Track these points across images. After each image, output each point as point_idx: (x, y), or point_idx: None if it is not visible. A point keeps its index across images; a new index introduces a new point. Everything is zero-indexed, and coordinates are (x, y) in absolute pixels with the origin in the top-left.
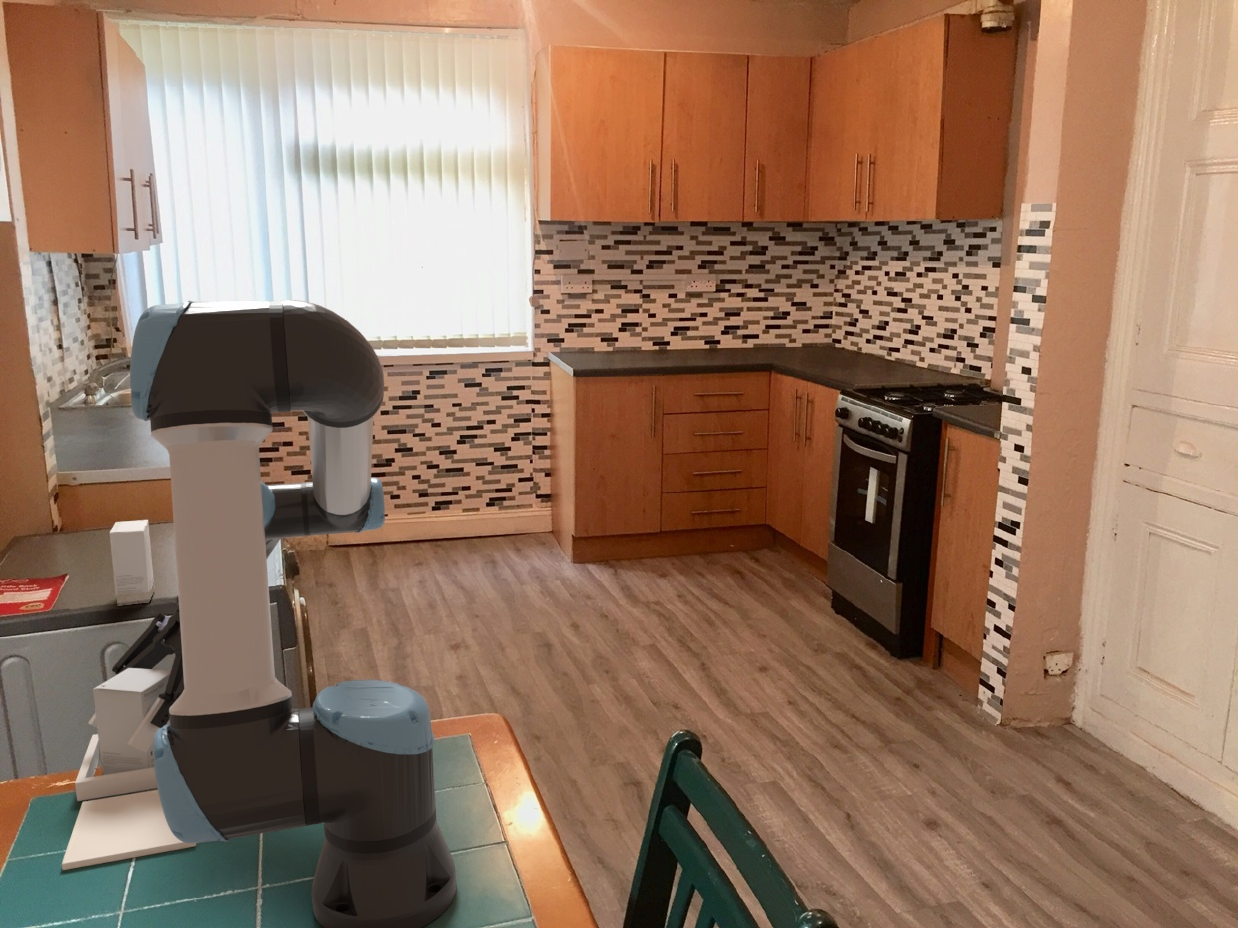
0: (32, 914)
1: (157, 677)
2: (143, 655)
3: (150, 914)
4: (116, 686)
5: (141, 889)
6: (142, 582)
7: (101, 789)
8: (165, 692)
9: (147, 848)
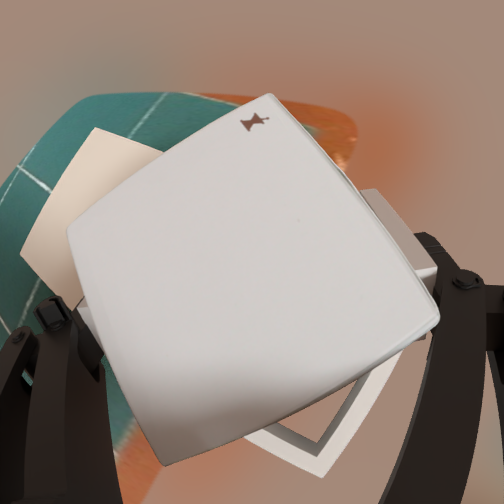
0: (72, 109)
1: (134, 361)
2: (431, 421)
3: (4, 185)
4: (192, 162)
5: (23, 187)
6: None
7: None
8: (66, 330)
9: (44, 206)
